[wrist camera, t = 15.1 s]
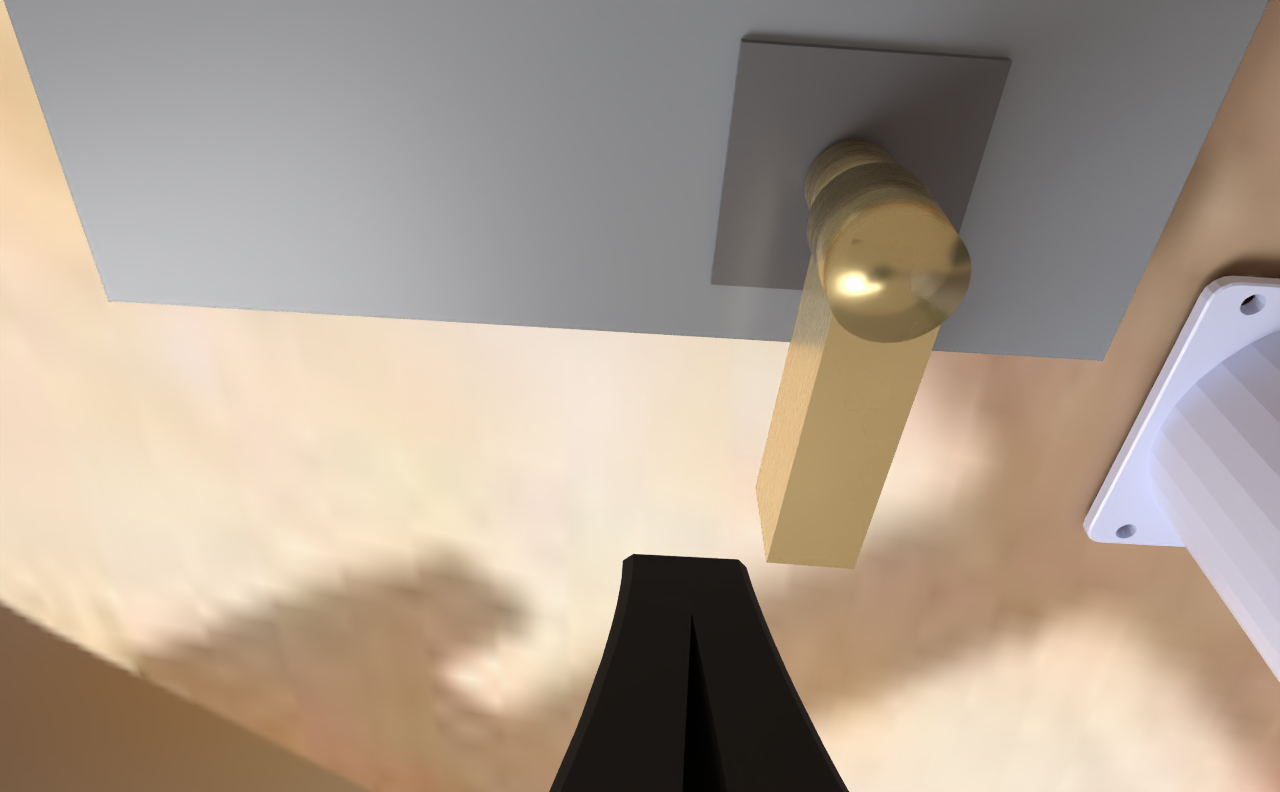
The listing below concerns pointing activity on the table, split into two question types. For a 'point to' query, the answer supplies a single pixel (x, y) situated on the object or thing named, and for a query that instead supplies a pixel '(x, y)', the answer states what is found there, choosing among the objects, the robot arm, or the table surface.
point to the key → (854, 350)
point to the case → (621, 151)
